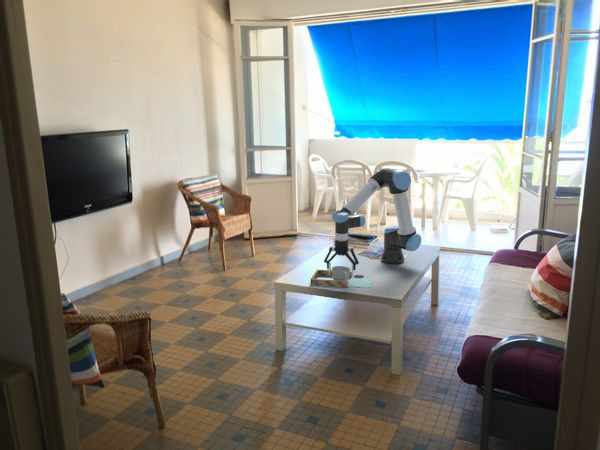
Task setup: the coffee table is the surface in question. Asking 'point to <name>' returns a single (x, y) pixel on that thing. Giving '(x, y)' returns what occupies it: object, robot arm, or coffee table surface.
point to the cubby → (327, 282)
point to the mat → (360, 282)
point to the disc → (358, 276)
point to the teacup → (340, 273)
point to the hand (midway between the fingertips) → (341, 274)
